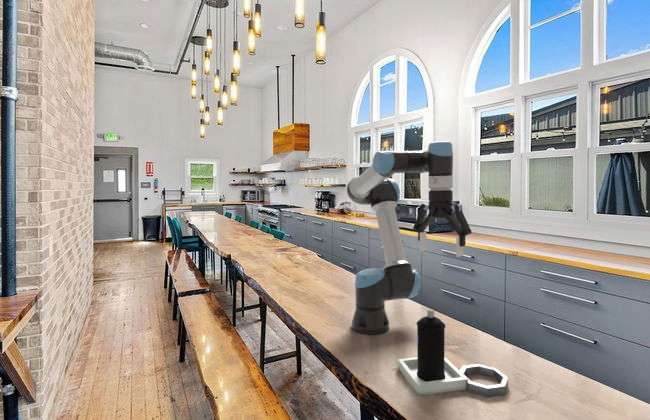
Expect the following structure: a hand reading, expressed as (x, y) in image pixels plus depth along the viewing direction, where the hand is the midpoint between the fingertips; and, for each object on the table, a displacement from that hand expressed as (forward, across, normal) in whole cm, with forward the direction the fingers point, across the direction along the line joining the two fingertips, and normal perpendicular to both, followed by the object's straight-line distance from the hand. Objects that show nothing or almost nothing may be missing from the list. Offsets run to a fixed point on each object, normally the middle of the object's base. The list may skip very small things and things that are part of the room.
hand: (440, 253), depth 120 cm
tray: (+35, +6, -15) cm, 38 cm away
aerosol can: (+34, +6, -15) cm, 38 cm away
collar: (+35, +18, -7) cm, 40 cm away
